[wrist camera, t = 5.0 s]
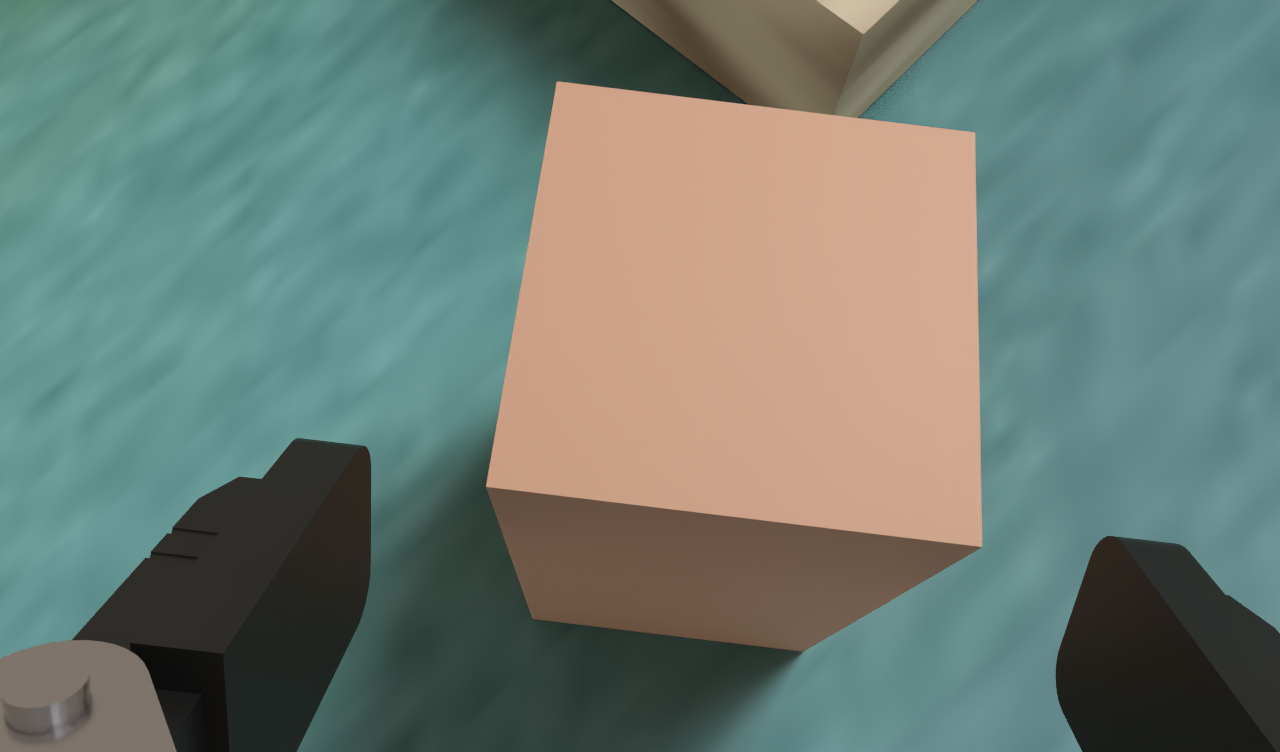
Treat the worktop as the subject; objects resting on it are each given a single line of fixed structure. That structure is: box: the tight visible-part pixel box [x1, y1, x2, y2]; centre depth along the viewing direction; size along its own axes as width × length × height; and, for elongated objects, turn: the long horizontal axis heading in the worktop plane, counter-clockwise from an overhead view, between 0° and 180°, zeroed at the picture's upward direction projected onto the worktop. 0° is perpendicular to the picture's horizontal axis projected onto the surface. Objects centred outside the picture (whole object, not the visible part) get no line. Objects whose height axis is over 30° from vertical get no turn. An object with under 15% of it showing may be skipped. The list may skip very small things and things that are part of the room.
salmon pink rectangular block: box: [486, 81, 982, 652], centre depth 15 cm, size 5×5×9 cm
